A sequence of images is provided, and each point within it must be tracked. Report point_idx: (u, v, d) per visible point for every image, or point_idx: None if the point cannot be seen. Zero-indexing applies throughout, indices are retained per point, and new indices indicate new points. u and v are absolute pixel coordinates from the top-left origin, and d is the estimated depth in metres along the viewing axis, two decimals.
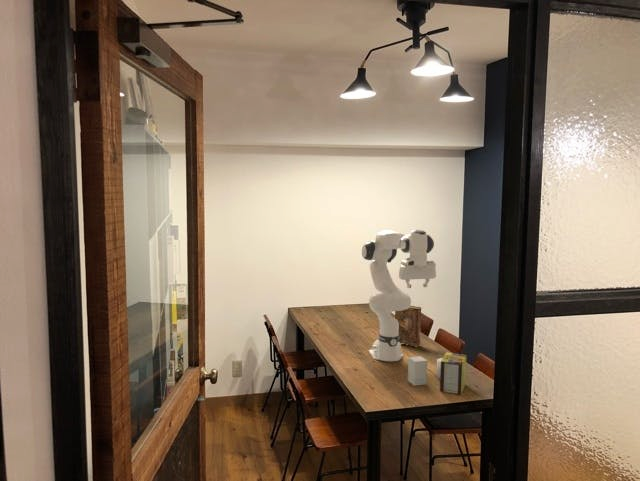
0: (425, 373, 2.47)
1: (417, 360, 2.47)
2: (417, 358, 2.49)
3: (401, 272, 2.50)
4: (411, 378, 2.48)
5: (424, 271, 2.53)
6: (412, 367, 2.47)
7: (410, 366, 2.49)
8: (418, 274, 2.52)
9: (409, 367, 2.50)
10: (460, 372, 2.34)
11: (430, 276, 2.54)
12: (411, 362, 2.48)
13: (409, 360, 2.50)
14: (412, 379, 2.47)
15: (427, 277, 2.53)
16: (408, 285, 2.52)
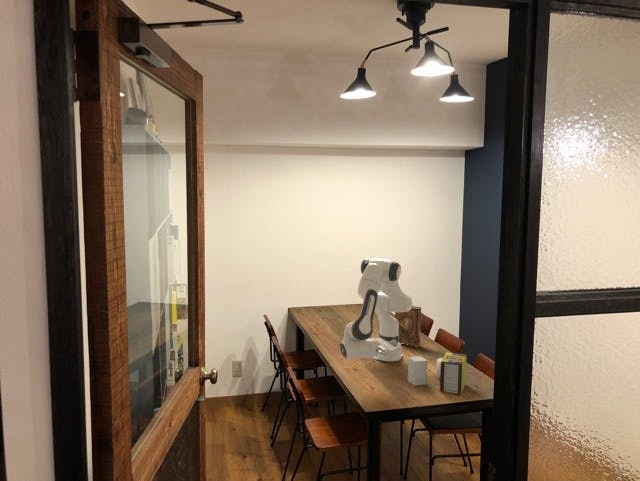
0: (425, 373, 2.47)
1: (417, 360, 2.47)
2: (417, 358, 2.49)
3: None
4: (411, 378, 2.48)
5: None
6: (412, 367, 2.47)
7: (410, 366, 2.49)
8: None
9: (409, 367, 2.50)
10: (460, 372, 2.34)
11: None
12: (411, 362, 2.48)
13: (409, 360, 2.50)
14: (412, 379, 2.47)
15: None
16: (389, 344, 2.49)
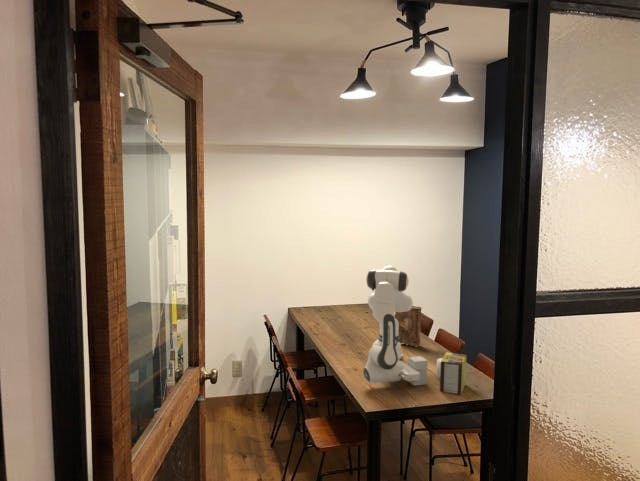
0: (425, 373, 2.47)
1: (417, 360, 2.47)
2: (417, 358, 2.49)
3: None
4: None
5: None
6: (412, 367, 2.47)
7: (410, 366, 2.49)
8: None
9: None
10: (460, 372, 2.34)
11: None
12: (411, 362, 2.48)
13: (409, 360, 2.50)
14: None
15: None
16: None
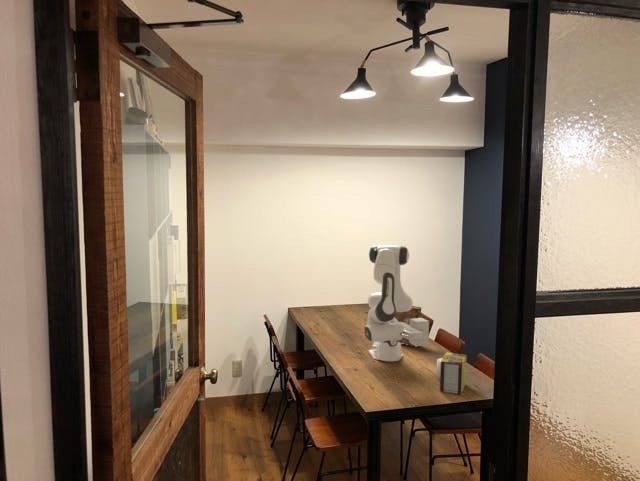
0: (427, 334, 2.45)
1: (419, 320, 2.45)
2: (419, 319, 2.47)
3: None
4: None
5: None
6: None
7: None
8: None
9: None
10: (460, 372, 2.34)
11: None
12: (413, 323, 2.46)
13: (411, 321, 2.48)
14: (413, 340, 2.45)
15: None
16: None
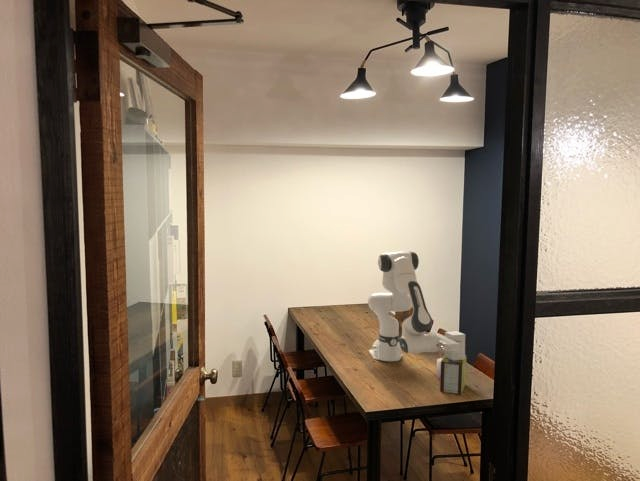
0: (463, 347, 2.39)
1: (455, 334, 2.39)
2: (454, 332, 2.41)
3: None
4: (448, 353, 2.40)
5: None
6: None
7: None
8: None
9: None
10: (460, 372, 2.34)
11: None
12: (448, 336, 2.40)
13: (446, 335, 2.42)
14: (450, 354, 2.39)
15: None
16: None
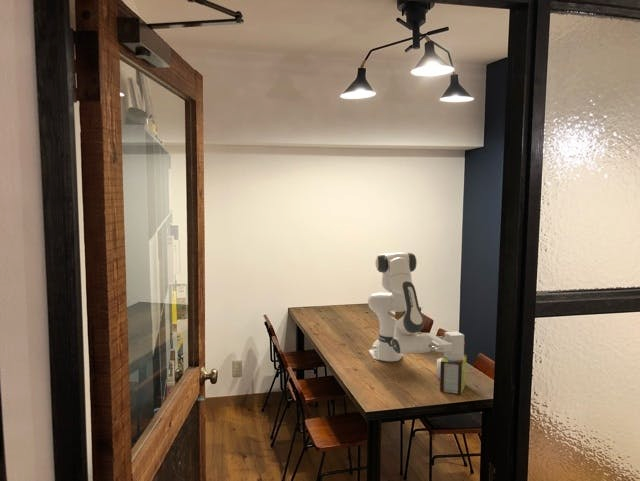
0: (462, 348, 2.38)
1: (454, 334, 2.38)
2: (454, 333, 2.41)
3: None
4: (447, 353, 2.40)
5: None
6: None
7: (446, 340, 2.41)
8: None
9: None
10: (460, 372, 2.34)
11: None
12: (447, 337, 2.40)
13: (445, 335, 2.42)
14: (448, 354, 2.39)
15: None
16: None
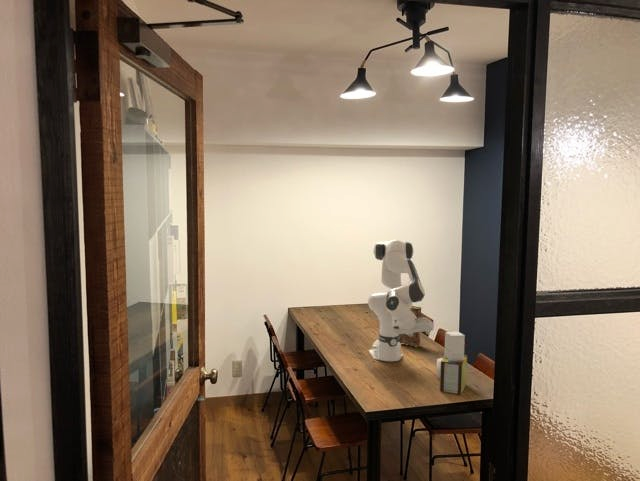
0: (462, 348, 2.38)
1: (454, 334, 2.38)
2: (454, 333, 2.41)
3: None
4: (447, 353, 2.40)
5: (417, 327, 2.38)
6: (448, 342, 2.39)
7: (446, 340, 2.41)
8: (412, 330, 2.41)
9: (446, 342, 2.42)
10: (460, 372, 2.34)
11: (425, 330, 2.37)
12: (448, 337, 2.40)
13: (446, 335, 2.42)
14: (448, 354, 2.39)
15: (423, 331, 2.38)
16: (409, 335, 2.47)
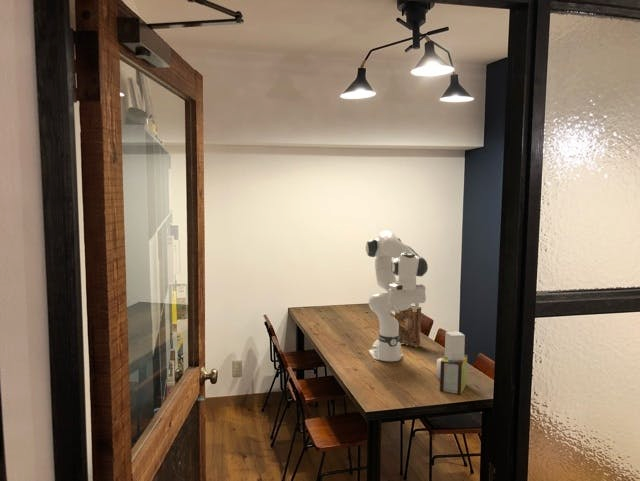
0: (462, 348, 2.38)
1: (454, 334, 2.39)
2: (454, 333, 2.41)
3: (389, 297, 2.41)
4: (447, 353, 2.40)
5: (413, 295, 2.44)
6: (448, 341, 2.39)
7: (447, 340, 2.41)
8: (407, 299, 2.43)
9: (446, 342, 2.42)
10: (460, 372, 2.34)
11: (419, 300, 2.45)
12: (448, 336, 2.40)
13: (446, 334, 2.42)
14: (448, 354, 2.39)
15: (416, 301, 2.44)
16: (397, 310, 2.43)
